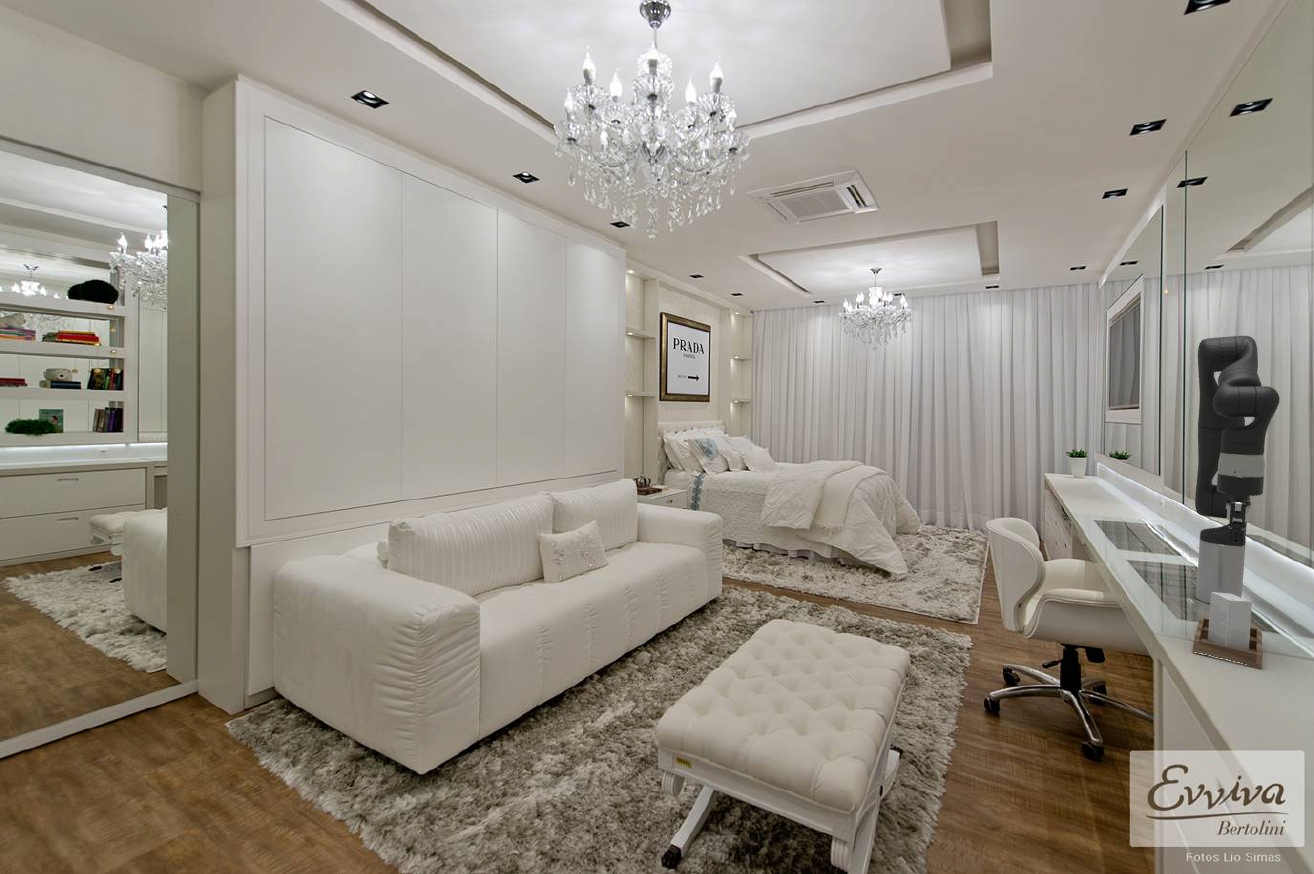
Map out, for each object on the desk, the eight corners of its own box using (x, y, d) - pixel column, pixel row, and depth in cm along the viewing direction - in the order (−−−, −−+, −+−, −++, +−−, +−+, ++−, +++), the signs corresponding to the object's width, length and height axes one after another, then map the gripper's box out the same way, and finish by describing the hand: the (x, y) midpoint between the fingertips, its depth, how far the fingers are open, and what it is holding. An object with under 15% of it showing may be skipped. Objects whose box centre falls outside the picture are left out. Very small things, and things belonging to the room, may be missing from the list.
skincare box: (1249, 655, 125) (1253, 601, 125) (1226, 653, 126) (1230, 600, 125) (1228, 644, 131) (1231, 592, 131) (1206, 642, 132) (1209, 591, 131)
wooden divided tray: (1199, 628, 143) (1200, 609, 142) (1260, 641, 135) (1262, 621, 135) (1192, 653, 129) (1194, 631, 128) (1261, 669, 121) (1262, 646, 121)
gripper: (1219, 468, 140) (1215, 533, 141) (1216, 475, 130) (1212, 545, 131) (1263, 470, 134) (1259, 538, 136) (1264, 478, 124) (1259, 551, 126)
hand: (1236, 541), depth 133 cm, fingers open, 8 cm apart
